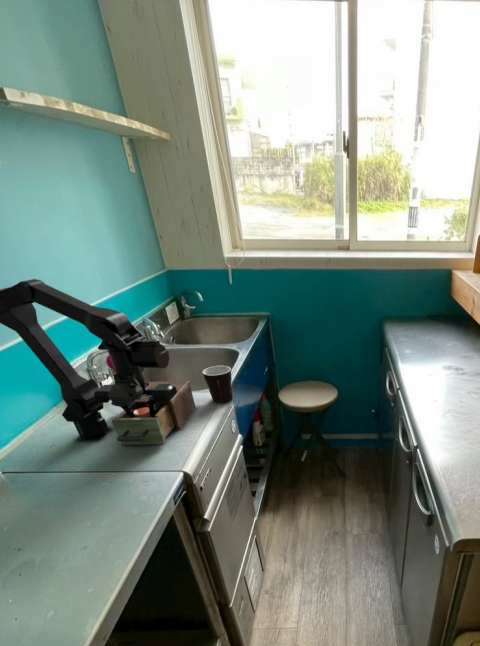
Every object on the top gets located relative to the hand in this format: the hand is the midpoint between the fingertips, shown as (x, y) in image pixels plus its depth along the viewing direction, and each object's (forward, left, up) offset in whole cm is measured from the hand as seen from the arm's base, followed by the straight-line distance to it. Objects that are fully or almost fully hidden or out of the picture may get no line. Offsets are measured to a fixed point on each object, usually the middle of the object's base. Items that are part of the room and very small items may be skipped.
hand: (146, 422), depth 106 cm
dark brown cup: (+13, +23, -5) cm, 27 cm away
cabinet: (0, +11, -5) cm, 12 cm away
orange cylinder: (0, 0, -2) cm, 2 cm away
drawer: (0, -1, -4) cm, 4 cm away
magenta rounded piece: (-12, +17, -5) cm, 22 cm away
